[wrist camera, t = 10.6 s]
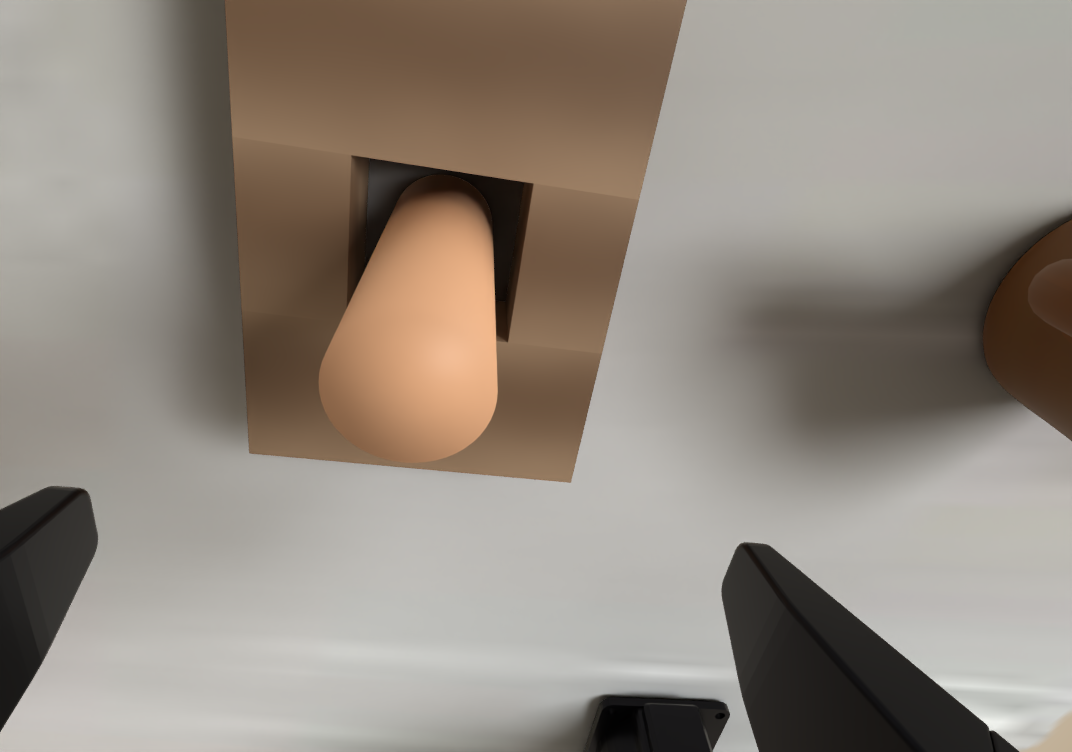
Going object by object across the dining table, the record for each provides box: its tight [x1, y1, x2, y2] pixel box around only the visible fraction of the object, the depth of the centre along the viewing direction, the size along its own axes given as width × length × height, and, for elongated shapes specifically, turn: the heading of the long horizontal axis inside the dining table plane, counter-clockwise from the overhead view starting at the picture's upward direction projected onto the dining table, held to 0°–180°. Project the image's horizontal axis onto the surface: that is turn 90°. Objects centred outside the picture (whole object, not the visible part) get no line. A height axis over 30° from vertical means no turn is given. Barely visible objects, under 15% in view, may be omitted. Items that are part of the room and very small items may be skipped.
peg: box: [318, 174, 498, 463], centre depth 15 cm, size 3×3×10 cm
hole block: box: [225, 0, 687, 483], centre depth 18 cm, size 14×10×3 cm
